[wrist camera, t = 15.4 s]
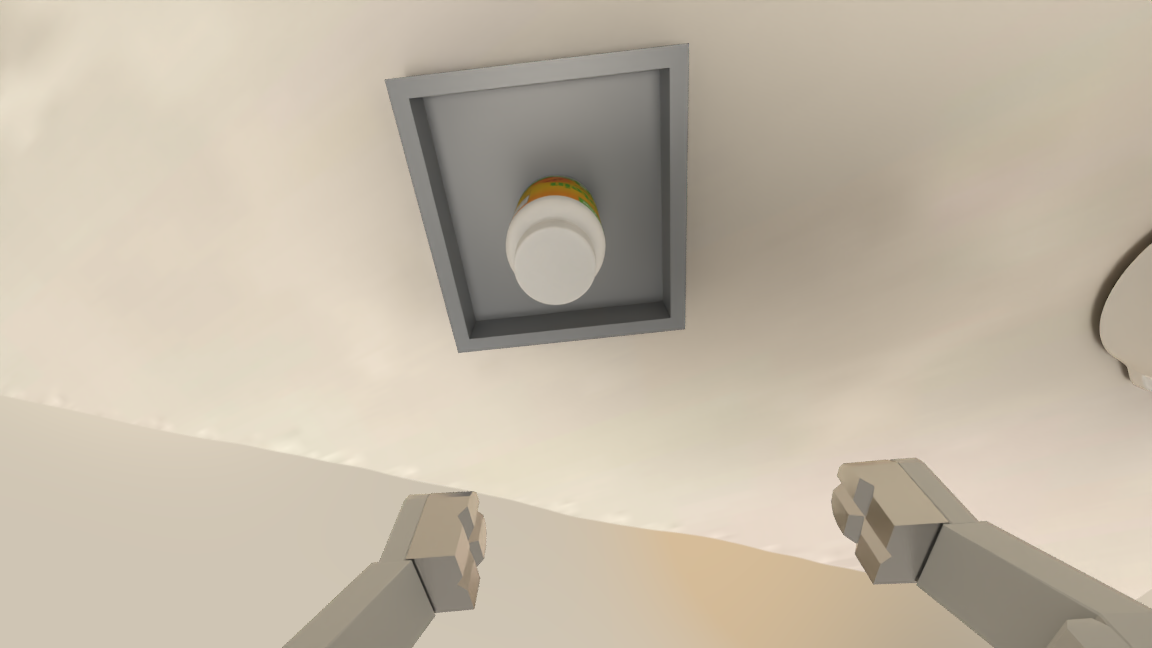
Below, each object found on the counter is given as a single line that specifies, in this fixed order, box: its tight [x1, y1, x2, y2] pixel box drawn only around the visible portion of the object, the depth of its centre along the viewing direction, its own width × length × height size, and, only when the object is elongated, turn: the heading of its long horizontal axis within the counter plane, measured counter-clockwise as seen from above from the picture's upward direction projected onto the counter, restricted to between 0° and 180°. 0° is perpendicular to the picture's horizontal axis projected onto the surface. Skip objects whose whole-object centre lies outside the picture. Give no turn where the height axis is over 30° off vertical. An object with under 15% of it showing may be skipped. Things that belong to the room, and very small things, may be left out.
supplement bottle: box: [506, 175, 606, 305], centre depth 25 cm, size 5×5×10 cm
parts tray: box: [385, 43, 689, 353], centre depth 29 cm, size 16×17×4 cm
